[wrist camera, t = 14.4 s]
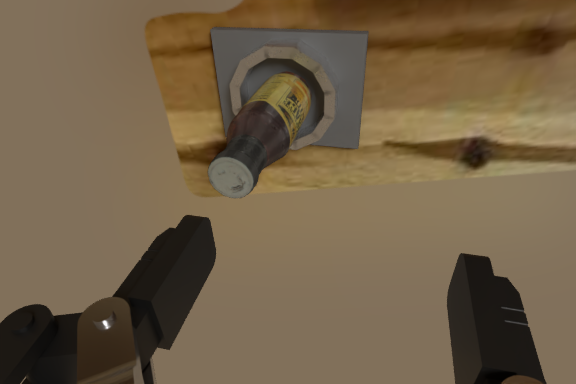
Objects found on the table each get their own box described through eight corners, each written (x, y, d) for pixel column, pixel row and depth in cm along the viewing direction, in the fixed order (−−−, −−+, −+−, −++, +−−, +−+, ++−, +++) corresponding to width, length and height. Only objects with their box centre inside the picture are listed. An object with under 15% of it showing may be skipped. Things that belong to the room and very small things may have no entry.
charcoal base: (368, 31, 42) (367, 34, 41) (358, 144, 50) (357, 148, 49) (214, 27, 46) (210, 29, 45) (228, 133, 54) (225, 137, 53)
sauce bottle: (313, 118, 48) (270, 220, 33) (265, 115, 50) (202, 211, 34) (314, 66, 45) (265, 153, 29) (262, 64, 46) (189, 146, 30)
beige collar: (341, 40, 42) (337, 48, 40) (336, 141, 50) (333, 153, 47) (233, 37, 45) (224, 44, 42) (244, 133, 52) (236, 144, 50)
